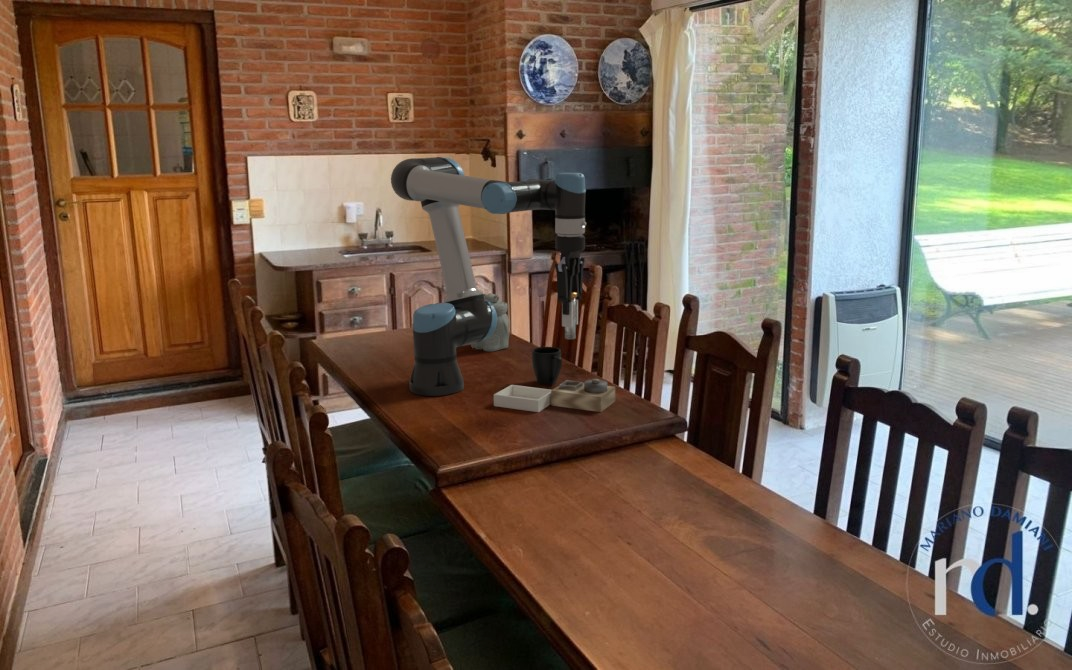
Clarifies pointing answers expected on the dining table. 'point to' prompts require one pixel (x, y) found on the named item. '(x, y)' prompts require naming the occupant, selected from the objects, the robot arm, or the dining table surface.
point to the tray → (523, 398)
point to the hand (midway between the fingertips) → (570, 325)
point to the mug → (546, 364)
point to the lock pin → (571, 331)
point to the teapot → (501, 331)
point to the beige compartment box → (583, 395)
